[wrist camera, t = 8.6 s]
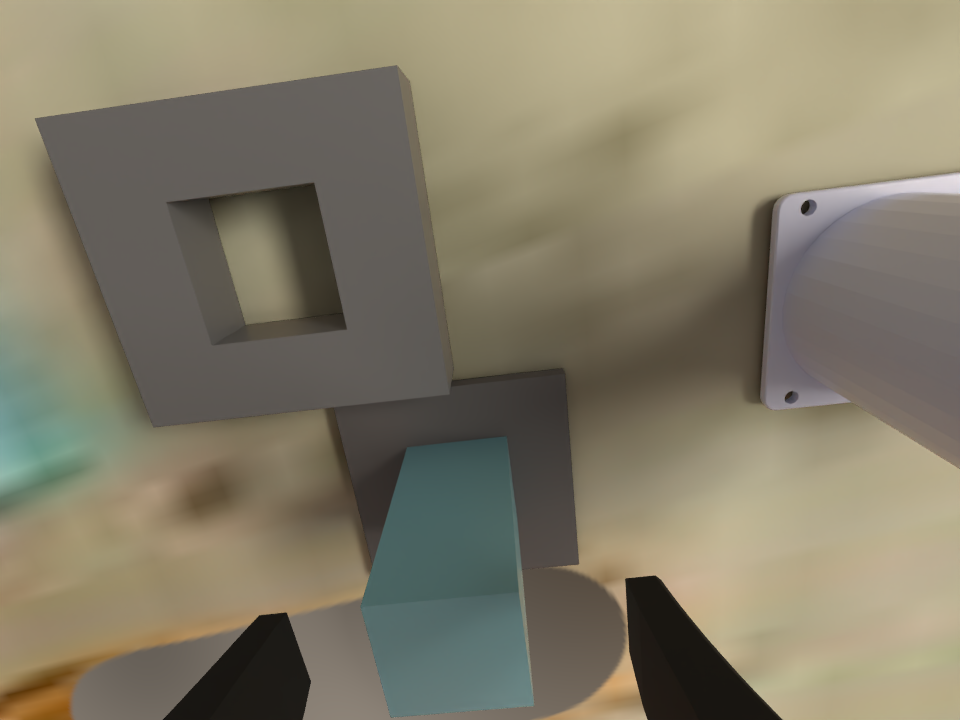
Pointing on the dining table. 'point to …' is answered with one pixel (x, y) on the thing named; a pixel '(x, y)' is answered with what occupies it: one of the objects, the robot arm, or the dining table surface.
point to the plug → (450, 585)
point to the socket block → (201, 260)
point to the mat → (470, 416)
